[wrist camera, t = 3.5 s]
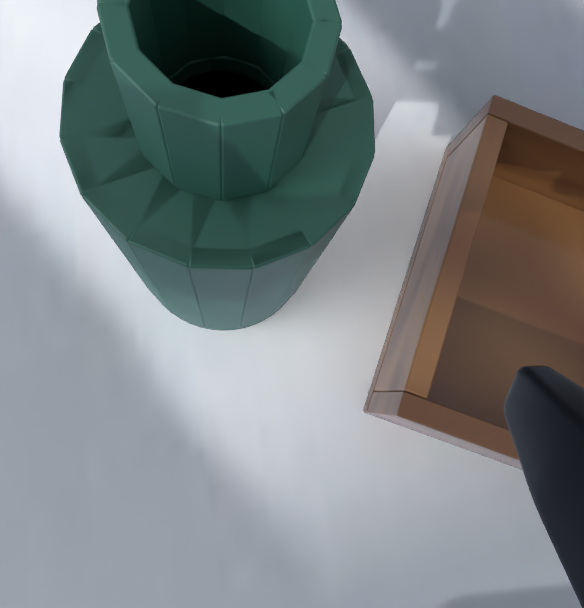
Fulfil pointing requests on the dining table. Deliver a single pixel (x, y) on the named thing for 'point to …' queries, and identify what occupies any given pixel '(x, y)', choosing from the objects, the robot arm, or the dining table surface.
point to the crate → (489, 281)
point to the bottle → (218, 146)
